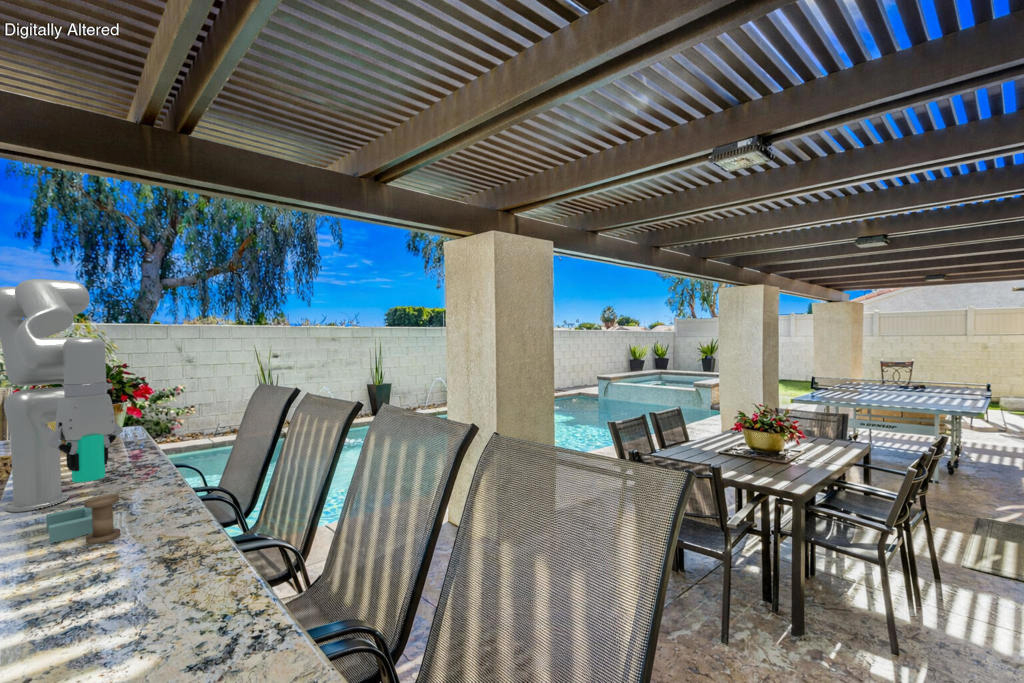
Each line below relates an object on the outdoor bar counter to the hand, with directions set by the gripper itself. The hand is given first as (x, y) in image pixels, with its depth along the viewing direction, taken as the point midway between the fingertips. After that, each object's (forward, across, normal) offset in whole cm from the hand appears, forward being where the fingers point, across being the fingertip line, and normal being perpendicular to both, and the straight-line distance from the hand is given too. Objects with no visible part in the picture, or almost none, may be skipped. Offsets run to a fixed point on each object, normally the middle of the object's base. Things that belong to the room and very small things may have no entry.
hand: (88, 466), depth 115 cm
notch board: (+15, +2, -2) cm, 15 cm away
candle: (+3, 0, 0) cm, 3 cm away
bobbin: (+15, +2, +10) cm, 18 cm away
